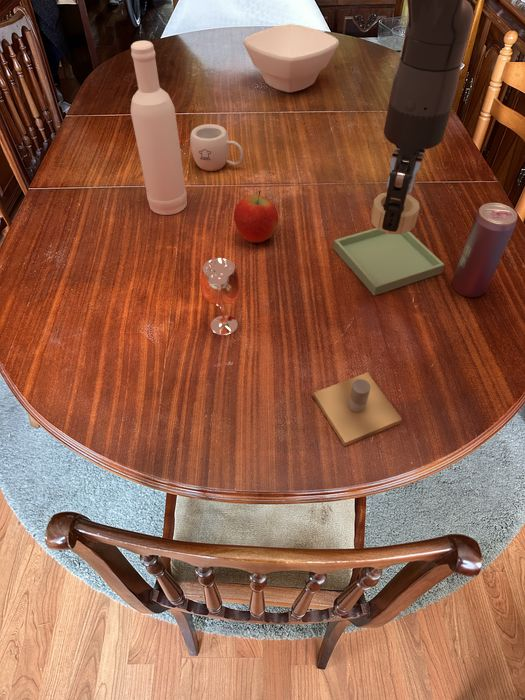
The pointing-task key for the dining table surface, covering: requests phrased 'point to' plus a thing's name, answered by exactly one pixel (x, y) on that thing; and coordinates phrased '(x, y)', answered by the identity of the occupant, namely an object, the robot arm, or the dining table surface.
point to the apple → (256, 218)
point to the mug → (212, 147)
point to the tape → (407, 215)
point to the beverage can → (484, 249)
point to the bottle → (156, 135)
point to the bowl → (290, 55)
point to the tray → (387, 259)
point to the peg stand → (356, 408)
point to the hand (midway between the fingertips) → (394, 215)
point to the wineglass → (220, 291)
